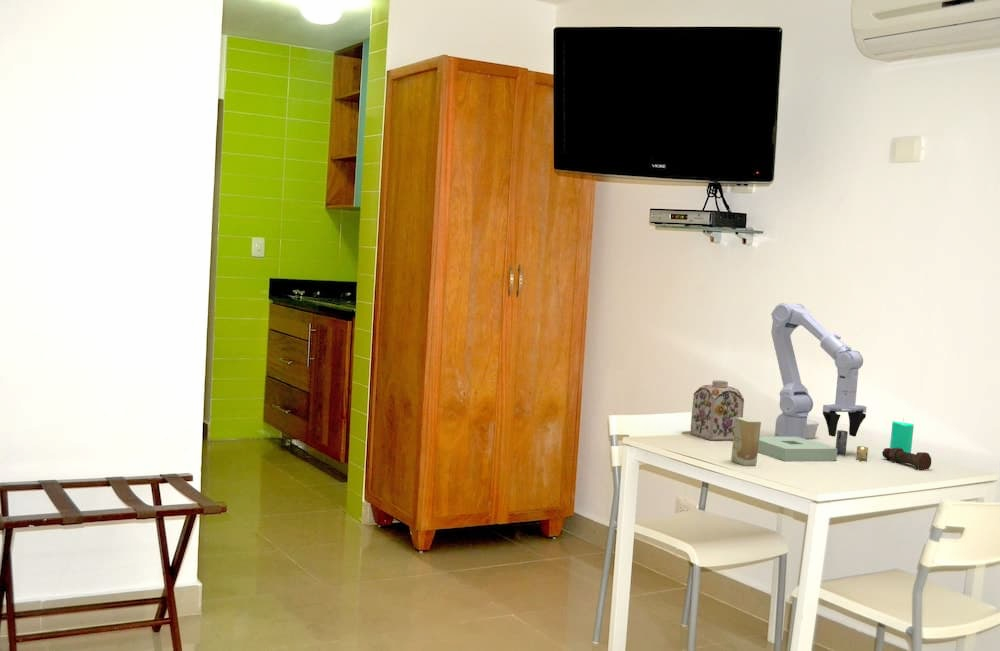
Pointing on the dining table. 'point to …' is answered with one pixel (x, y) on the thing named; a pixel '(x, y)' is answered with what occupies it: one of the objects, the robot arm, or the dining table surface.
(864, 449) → the short pin
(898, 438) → the candle
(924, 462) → the bolt
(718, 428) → the decorative jar
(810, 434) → the ramekin
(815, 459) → the collar plate
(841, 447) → the tall pin
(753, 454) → the skincare box
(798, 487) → the dining table surface
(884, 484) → the dining table surface
